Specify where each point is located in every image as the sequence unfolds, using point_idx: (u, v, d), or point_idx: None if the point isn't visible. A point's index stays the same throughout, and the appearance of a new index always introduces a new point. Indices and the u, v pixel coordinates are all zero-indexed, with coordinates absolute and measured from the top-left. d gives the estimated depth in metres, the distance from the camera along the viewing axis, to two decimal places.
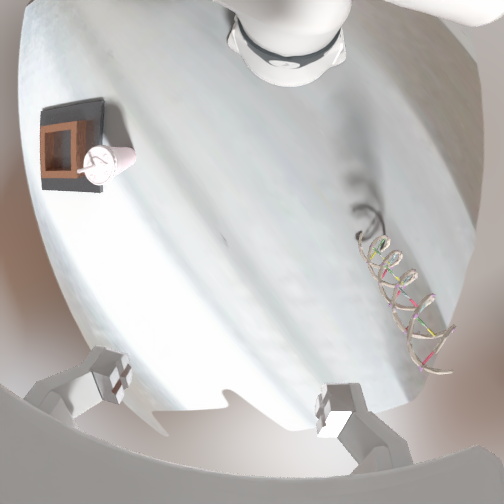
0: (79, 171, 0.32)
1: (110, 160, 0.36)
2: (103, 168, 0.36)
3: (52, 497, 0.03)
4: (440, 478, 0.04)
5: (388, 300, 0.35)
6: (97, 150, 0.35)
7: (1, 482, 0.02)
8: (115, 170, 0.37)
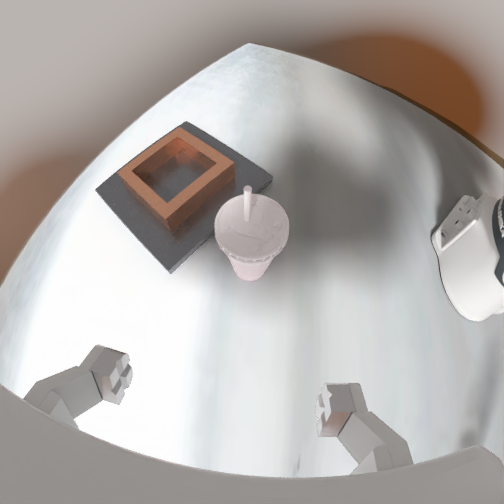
0: (248, 190, 0.19)
1: (281, 235, 0.23)
2: (259, 234, 0.23)
3: (52, 497, 0.03)
4: (440, 478, 0.04)
5: None
6: (269, 205, 0.24)
7: (1, 481, 0.02)
8: (272, 255, 0.23)
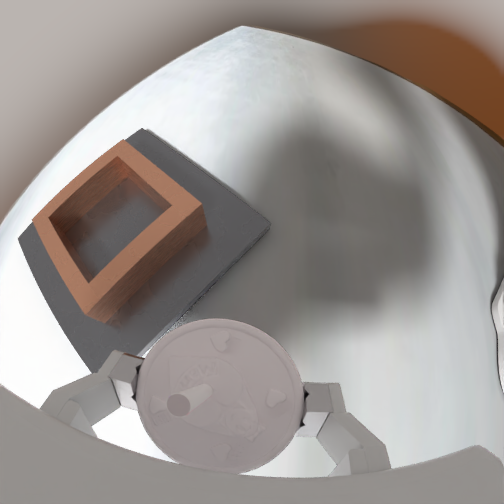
0: (182, 408, 0.05)
1: (283, 426, 0.09)
2: (234, 429, 0.08)
3: (52, 497, 0.03)
4: (440, 478, 0.04)
5: None
6: (259, 351, 0.10)
7: (1, 481, 0.02)
8: None
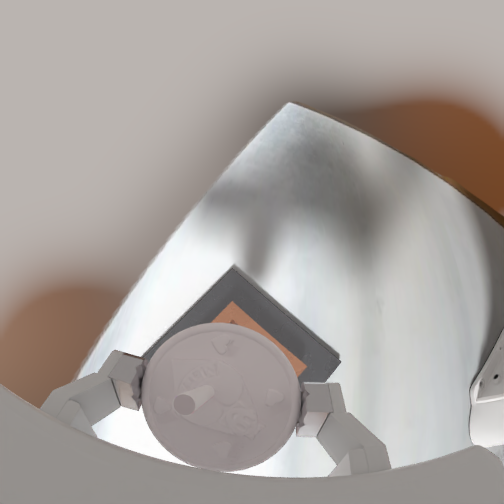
0: (187, 407, 0.06)
1: (281, 424, 0.09)
2: (235, 427, 0.09)
3: (52, 497, 0.03)
4: (440, 478, 0.04)
5: None
6: (258, 354, 0.10)
7: (1, 482, 0.02)
8: None
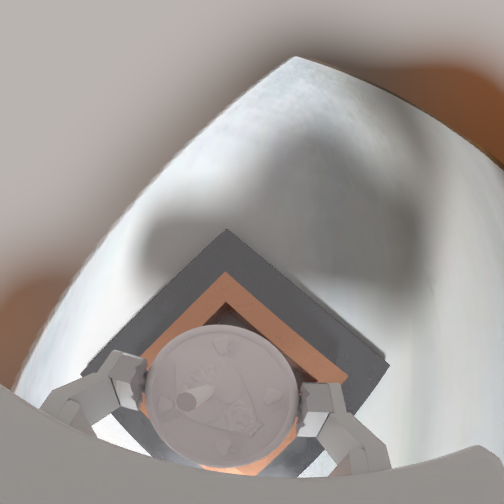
0: (189, 404, 0.06)
1: (280, 422, 0.09)
2: (235, 425, 0.09)
3: (52, 497, 0.03)
4: (440, 478, 0.04)
5: None
6: (257, 354, 0.11)
7: (1, 482, 0.02)
8: None
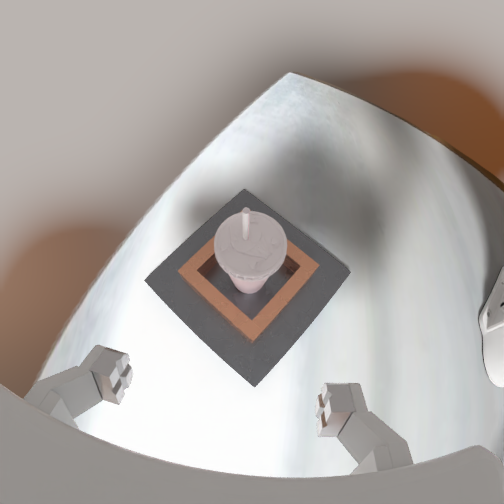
0: (247, 212, 0.20)
1: (279, 253, 0.24)
2: (258, 253, 0.23)
3: (52, 497, 0.03)
4: (440, 478, 0.04)
5: None
6: (267, 223, 0.25)
7: (1, 482, 0.02)
8: (270, 273, 0.23)
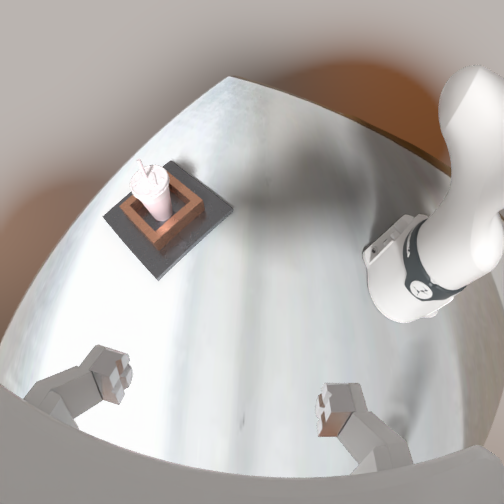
0: (139, 160, 0.36)
1: (161, 184, 0.39)
2: (150, 184, 0.39)
3: (52, 497, 0.03)
4: (440, 478, 0.04)
5: None
6: (160, 170, 0.41)
7: (1, 481, 0.02)
8: (156, 195, 0.39)
